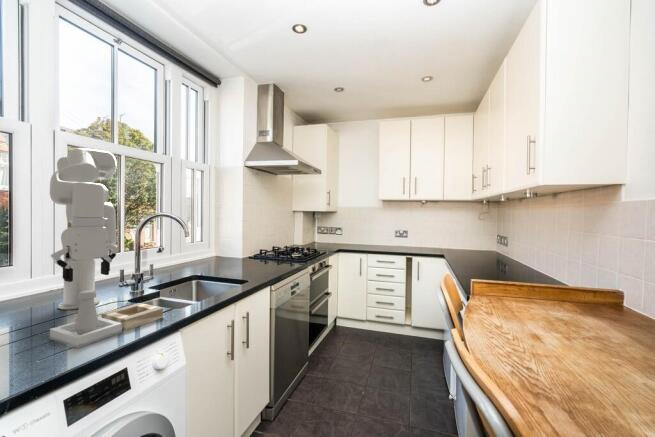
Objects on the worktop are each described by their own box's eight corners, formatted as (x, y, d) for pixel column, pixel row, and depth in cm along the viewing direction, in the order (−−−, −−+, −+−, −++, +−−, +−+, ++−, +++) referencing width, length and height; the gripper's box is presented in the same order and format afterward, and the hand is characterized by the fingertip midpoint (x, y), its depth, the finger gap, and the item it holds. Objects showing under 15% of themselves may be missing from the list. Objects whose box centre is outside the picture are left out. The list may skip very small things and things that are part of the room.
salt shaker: (84, 337, 85) (84, 294, 84) (69, 335, 86) (69, 293, 86) (103, 330, 90) (103, 289, 90) (88, 328, 92) (89, 288, 91)
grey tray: (50, 338, 85) (50, 328, 85) (95, 324, 96) (95, 316, 96) (76, 348, 80) (76, 338, 80) (121, 332, 91) (122, 323, 91)
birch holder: (101, 323, 98) (101, 313, 97) (139, 311, 109) (139, 302, 109) (125, 330, 92) (126, 319, 92) (162, 317, 104) (162, 308, 104)
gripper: (111, 221, 97) (110, 270, 98) (45, 222, 81) (44, 282, 82) (125, 222, 94) (124, 273, 95) (59, 224, 78) (59, 286, 79)
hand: (87, 277), depth 88 cm, fingers open, 9 cm apart
